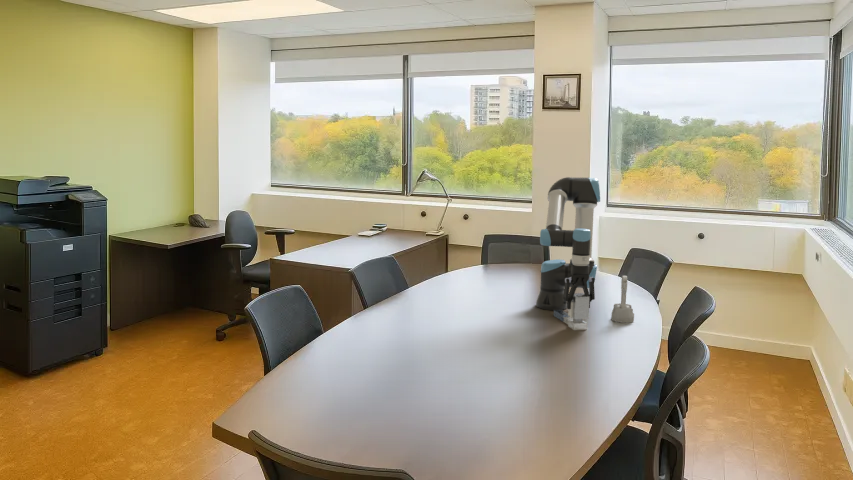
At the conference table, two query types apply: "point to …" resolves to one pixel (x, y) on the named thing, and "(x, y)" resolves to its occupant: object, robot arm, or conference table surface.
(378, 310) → the conference table surface
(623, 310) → the engine component
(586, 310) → the grey textured cube
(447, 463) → the conference table surface
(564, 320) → the blue-grey beige mallet
